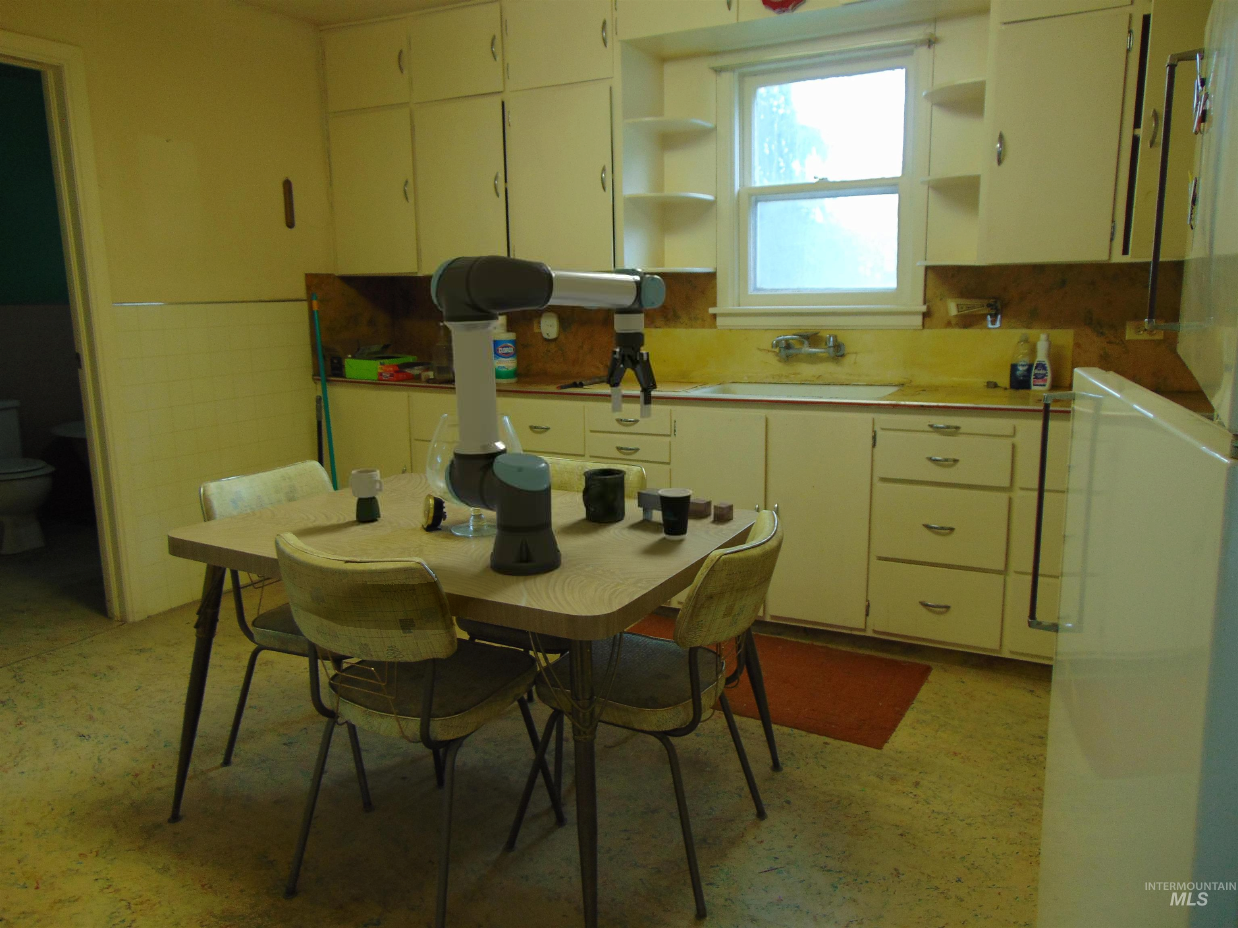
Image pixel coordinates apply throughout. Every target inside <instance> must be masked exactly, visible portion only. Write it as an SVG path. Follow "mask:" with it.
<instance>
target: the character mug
mask: <svg viewBox="0 0 1238 928" xmlns="http://www.w3.org/2000/svg"><path fill="white" fill-rule="evenodd" d="M380 475H381V474H380V469H377V468H360V469H355V470H351V472H350V476H349V477H348V484H349V485H348V487H349V489H351V494H352V496H353V497H355V498H357V500H356V505H355V506H356V508H355V519H356V521H360V522H365V521H372V522H373V521H374V520H376V519H380V518H382V516H381V510H380V506H379V500H378V498H377V497H376V496H379V495H380V493H382V492H384V481H383V479H381V476H380Z"/></svg>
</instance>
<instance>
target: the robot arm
mask: <svg viewBox="0 0 1238 928" xmlns="http://www.w3.org/2000/svg"><path fill="white" fill-rule="evenodd" d="M666 291H667V290H666V285H665V282H664V280H663V279H662V278H661V277H660V276H658V275H651V274H645V275H644V272H643V270H642V269H641V268H617V269H614V271H613V272H604V271H602V272H601V271H592V270H580V269H578V270H577V269H568V268H557V267H556V268H553V267H550V266H549V265H548V264H546V263H545V262H542V261H533V260H527V259H521V258H516V257H510V256H506V255H505V256H504V255H496V254H494V255H493V254H490V255H479V256H456V257H454V258H449V259H446V260H445V261H443V262H442V263H441V264H440V265H439V266H438V267H437V269H435V271H434V273H433V276H432V278H431V281H430V294H431V298H432V300H433V301H432V302H433V303H434V304H435V305H436V306H437V308H438V309H439V310H440V311H442V315H443V316H442V317H443V324H444V325H445V326H447V328H449V329H450V331H451V339H452V353H453V354H452V356H453V367H454V369H453V370H454V379H455V381H454V382H455V383H454V384H455V394H456V395H455V396H456V409H457V425H458V426H457V427H458V438H459V439H458V440H459V441H458V442H457V444H456V445H455V446H454V447H453V450H452V452H453V454H452V455H453V456H452V457H451V458H450V459H449V461H448V462H449V463H448V465H446V467H445V470H444V481H445V486H446V489H447V490H448V493H449V494H450V496H451V497H452V498H453V499H454V500H455V501H456V502H459V503H460V504H464V505H465V506H467V507H470V508H475V509H481V510H484V511H490V512H495V516H496V517H495V518H496V520H495V521H496V534H495V538H494V542H493V547H492V551H491V553H490V555H489V568H490V569H491V570H492V571H494V572H496V573H499V574H503V575H510V576H530V575H539V574H545V573H548V572H551V571H554V570H556V569H558V568H559V567H561V565H562V554H561V550H560V549H559V546H558V542H557V538H556V537H555V534H554V533H555V532H554V531H553V523H552V522H553V521H552V517H553V516H552V476H551V472H550V471H551V470H550V465H549V463H548V461H547V460H545V459H544V458H543V457H541V456H538V455H536V454H533V453H522V452H508V451H507V448H508V447H507V445H506V444H505V443H504V442H503V441H502V440H501V439H500V433H499V430H500V429H499V417H498V416H499V415H498V403H497V386H496V368H495V352H494V338H493V336H494V335H493V329H494V327H495V326H496V325H497V323H499V322H500V319H499V318H500V315H499V313H506V312H514V311H523V310H542V309H544V308H546V307H547V306H550V305H553V306H573V307H574V306H575V307H576V306H577V307H583V308H584V309H587V310H590V309H591V310H597V309H599V310H600V309H613V310H614V312H613V313H614V315H613V317H614V319H613V320H614V322H613V323H614V325H613V326H614V327H613V329H614V331H616V332H615V333H614V346H615V349H611V354H610V355H611V358H610V362H609V366H608V370H607V374H606V379H605V384H606V385H609V387H610V397H611V413H621V412H623V403H622V401H623V399H622V398H623V397H622V396H623V395H622V393H623V392H622V380H624V379H623V378H624V376H625V374H626V372H627V371H628V369H629V370H630V371H633V373H634V375H635V378H636V381H637V382H638V384H639V386H640V390H639V400H640V401H639V406H640V407H639V409H640V411H639V412H640V416H639V417H640V419H648V418H652V392H653V391H654V390H657V389H658V385H657V382H656V379H655V375H654V372H653V368H652V364H651V361H650V360H651V359H650V353H649V351H648V350H647V351H645V350H644V351H642V349H641V348H643V347H644V346H645V333H644V331H642V330H645V310H649V309H656V308H657V309H658V308H659V307H660V306H661V305H662V304H663V303H664V301H665V298H666Z"/></svg>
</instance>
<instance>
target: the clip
mask: <svg viewBox="0 0 1238 928" xmlns="http://www.w3.org/2000/svg"><path fill="white" fill-rule="evenodd" d="M662 489H663V488H661V489H660V488H655V487H650V488H649V487H648V488H646V489H643V490H642V489H641V490H639V491H637V492H636V493H637V508H641V509H642V520H646V521H650V520H653V519H654V515H653V512H654V511H657V512H661V504H660V495H659V494H658V492H659V491H660V490H662Z"/></svg>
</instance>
